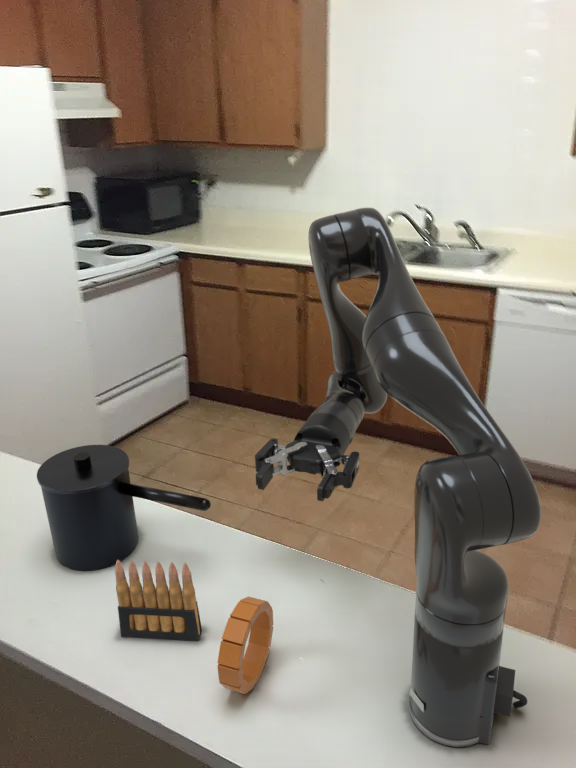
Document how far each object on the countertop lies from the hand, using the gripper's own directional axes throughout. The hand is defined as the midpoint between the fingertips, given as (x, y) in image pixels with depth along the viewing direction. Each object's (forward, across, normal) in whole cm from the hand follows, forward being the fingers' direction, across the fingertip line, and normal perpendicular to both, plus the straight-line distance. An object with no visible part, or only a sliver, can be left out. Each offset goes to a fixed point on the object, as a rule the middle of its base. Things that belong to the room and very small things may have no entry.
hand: (289, 489), depth 89 cm
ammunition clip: (+13, -14, +18) cm, 26 cm away
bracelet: (+16, 0, +17) cm, 23 cm away
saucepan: (0, -27, +18) cm, 32 cm away
